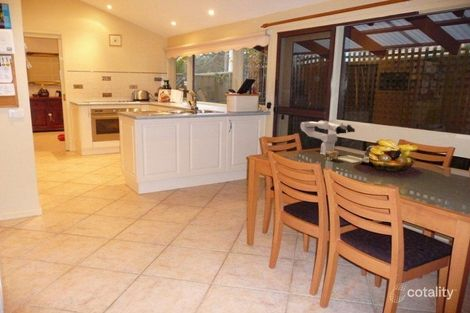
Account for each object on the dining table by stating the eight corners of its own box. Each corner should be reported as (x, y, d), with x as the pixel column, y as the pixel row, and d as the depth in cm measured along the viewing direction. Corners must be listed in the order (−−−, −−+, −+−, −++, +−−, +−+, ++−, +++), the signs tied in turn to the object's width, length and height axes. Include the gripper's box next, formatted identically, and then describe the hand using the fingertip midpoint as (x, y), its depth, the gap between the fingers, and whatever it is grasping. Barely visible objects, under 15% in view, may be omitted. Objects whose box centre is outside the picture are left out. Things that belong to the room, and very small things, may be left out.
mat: (333, 157, 253) (333, 157, 253) (348, 156, 261) (349, 155, 261) (352, 163, 238) (352, 162, 238) (368, 161, 246) (368, 160, 246)
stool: (329, 161, 241) (330, 152, 240) (324, 159, 246) (325, 151, 244) (338, 160, 245) (338, 151, 244) (332, 158, 250) (333, 150, 248)
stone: (358, 166, 235) (359, 145, 239) (364, 170, 241) (365, 150, 245) (379, 165, 225) (379, 143, 229) (384, 169, 232) (385, 147, 236)
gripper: (329, 123, 250) (342, 126, 238) (344, 121, 256) (358, 124, 244) (328, 132, 252) (341, 136, 240) (343, 130, 258) (357, 134, 247)
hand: (350, 131), depth 243 cm, fingers open, 7 cm apart
